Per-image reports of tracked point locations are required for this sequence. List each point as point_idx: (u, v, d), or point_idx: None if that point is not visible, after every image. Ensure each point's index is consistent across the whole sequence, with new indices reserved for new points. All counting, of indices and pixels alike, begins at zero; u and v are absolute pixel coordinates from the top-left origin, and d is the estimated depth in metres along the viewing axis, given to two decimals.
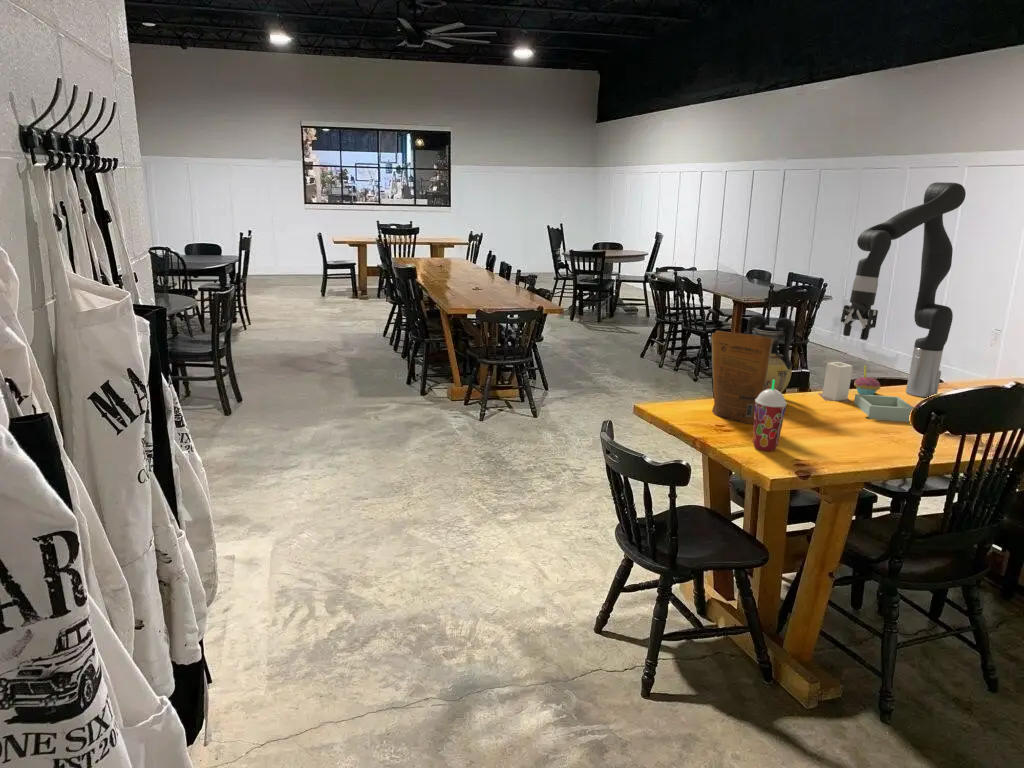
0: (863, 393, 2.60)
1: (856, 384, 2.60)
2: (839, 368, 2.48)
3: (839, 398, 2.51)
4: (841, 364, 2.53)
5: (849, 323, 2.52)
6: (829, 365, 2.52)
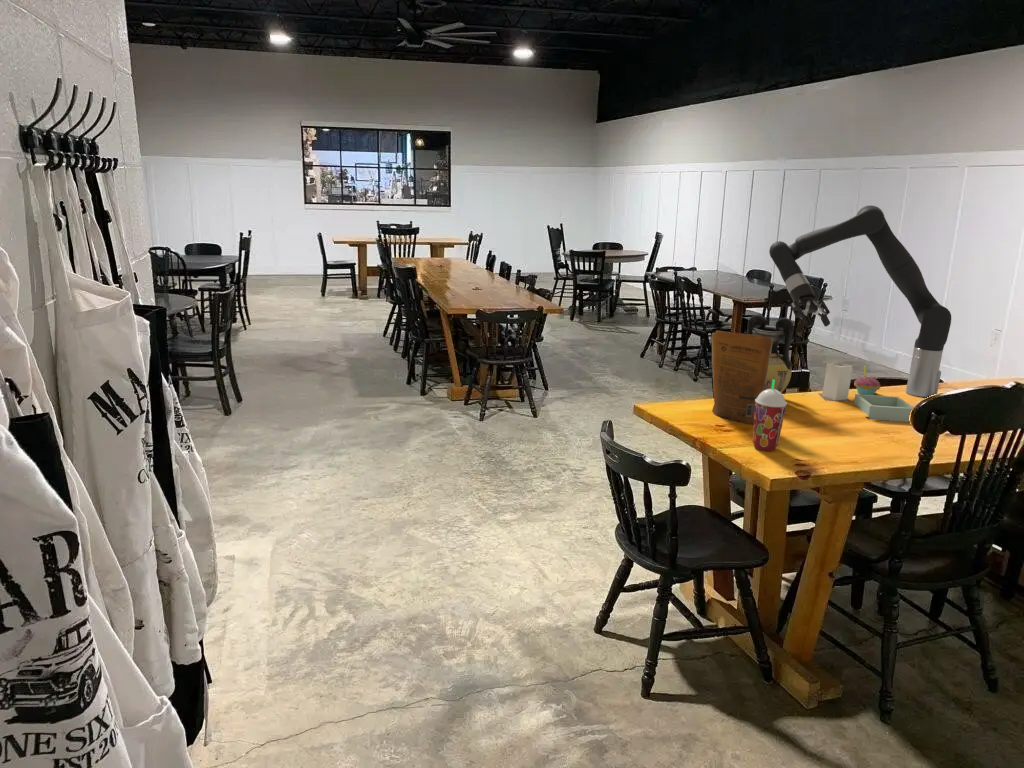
0: (863, 393, 2.60)
1: (856, 384, 2.60)
2: (839, 368, 2.48)
3: (839, 398, 2.51)
4: (841, 364, 2.53)
5: (822, 315, 2.62)
6: (829, 365, 2.52)
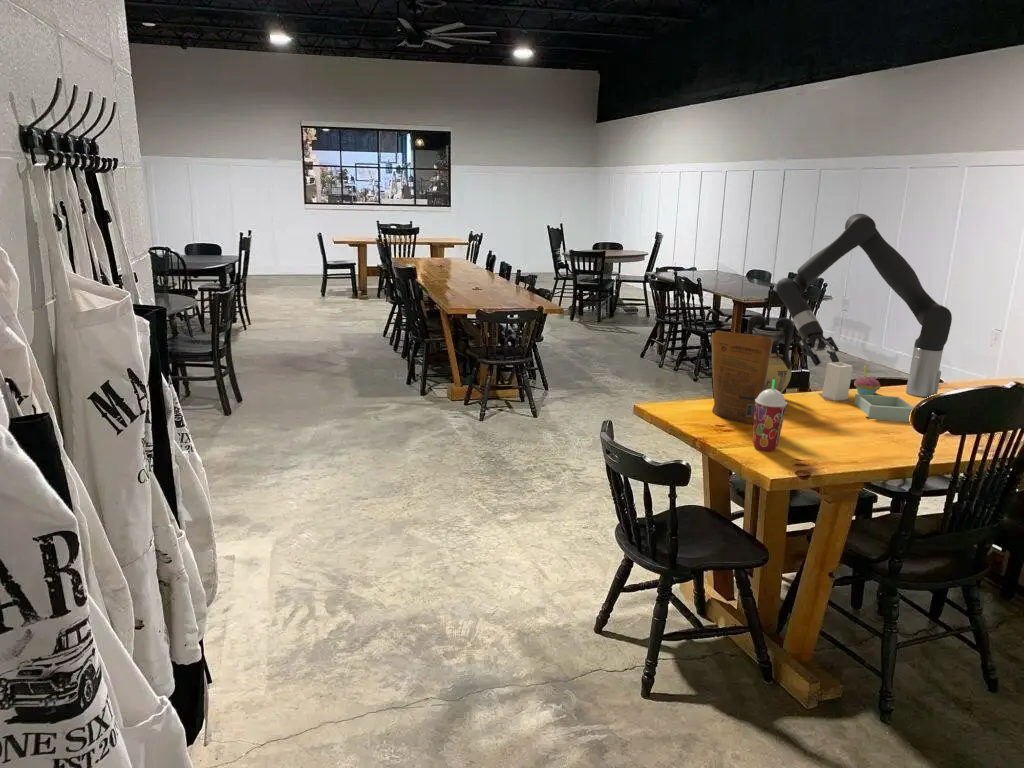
0: (863, 393, 2.60)
1: (856, 384, 2.60)
2: (839, 368, 2.48)
3: (839, 398, 2.51)
4: (841, 364, 2.53)
5: (831, 352, 2.60)
6: (829, 365, 2.52)
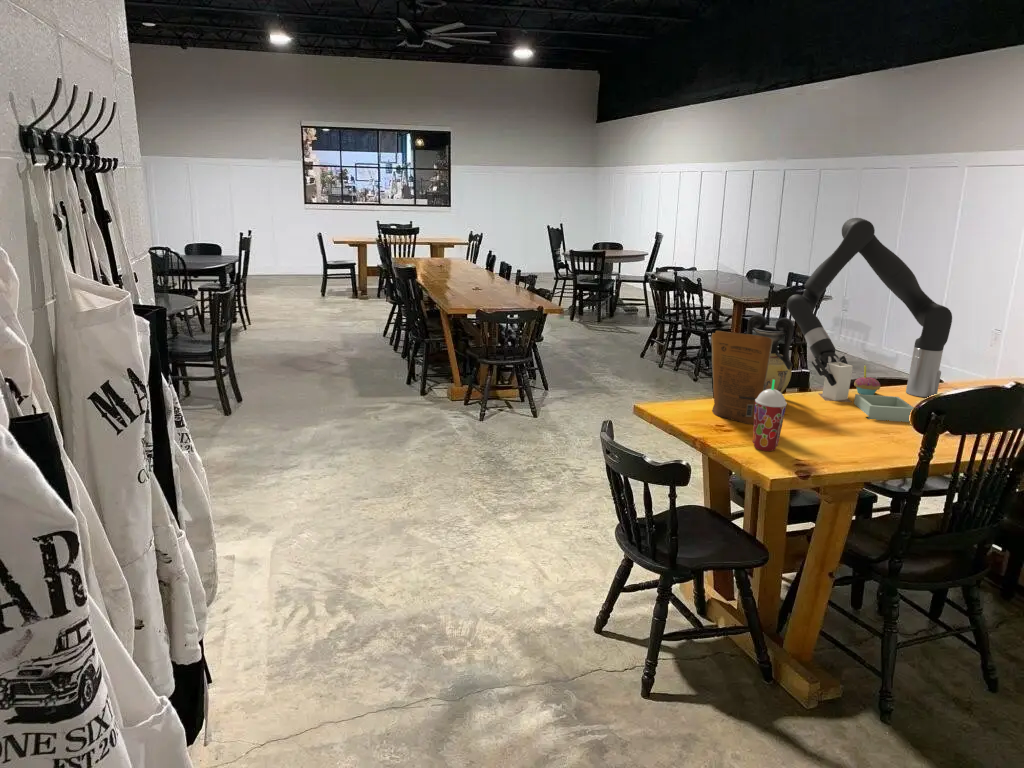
0: (863, 393, 2.60)
1: (856, 384, 2.60)
2: (839, 368, 2.48)
3: (839, 398, 2.51)
4: (841, 364, 2.53)
5: None
6: (829, 365, 2.52)
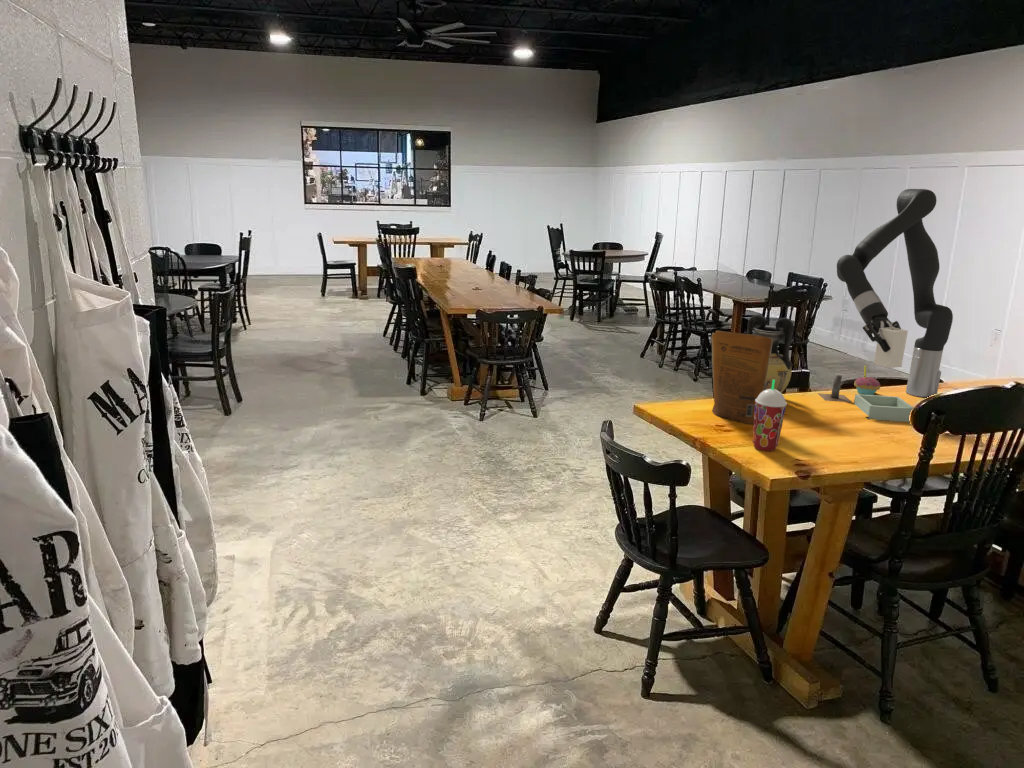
0: (863, 393, 2.60)
1: (856, 384, 2.60)
2: (893, 333, 2.31)
3: (893, 365, 2.35)
4: (894, 329, 2.36)
5: None
6: (882, 330, 2.35)
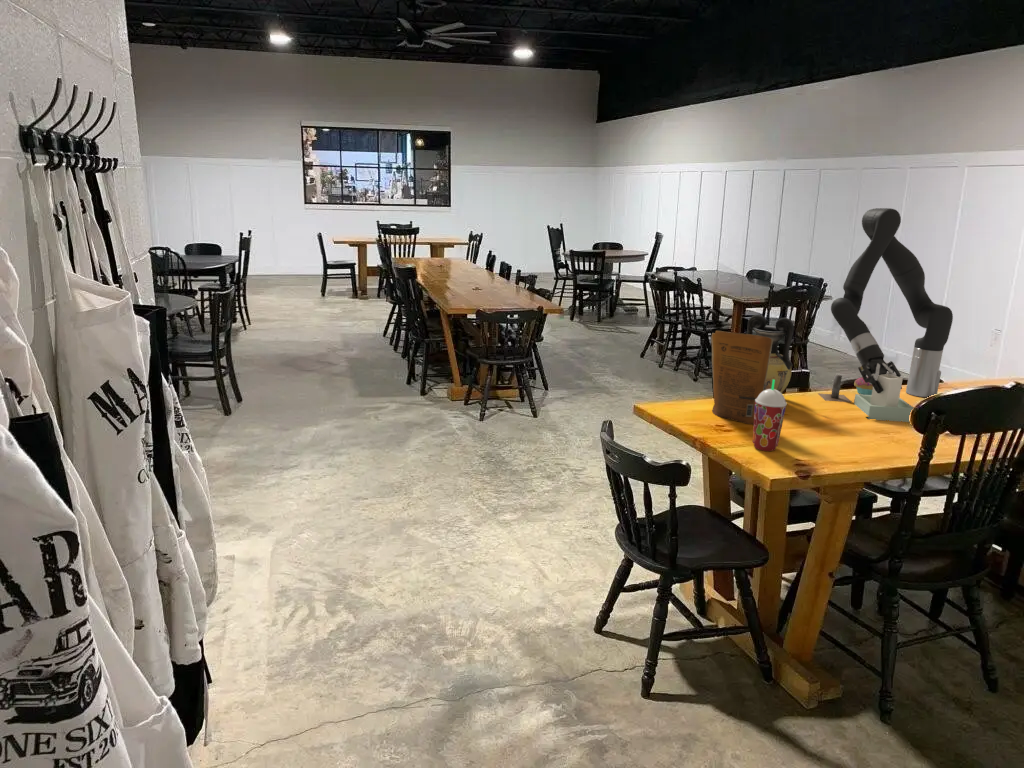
0: (863, 393, 2.60)
1: (856, 384, 2.60)
2: (888, 380, 2.35)
3: None
4: (890, 376, 2.40)
5: None
6: None
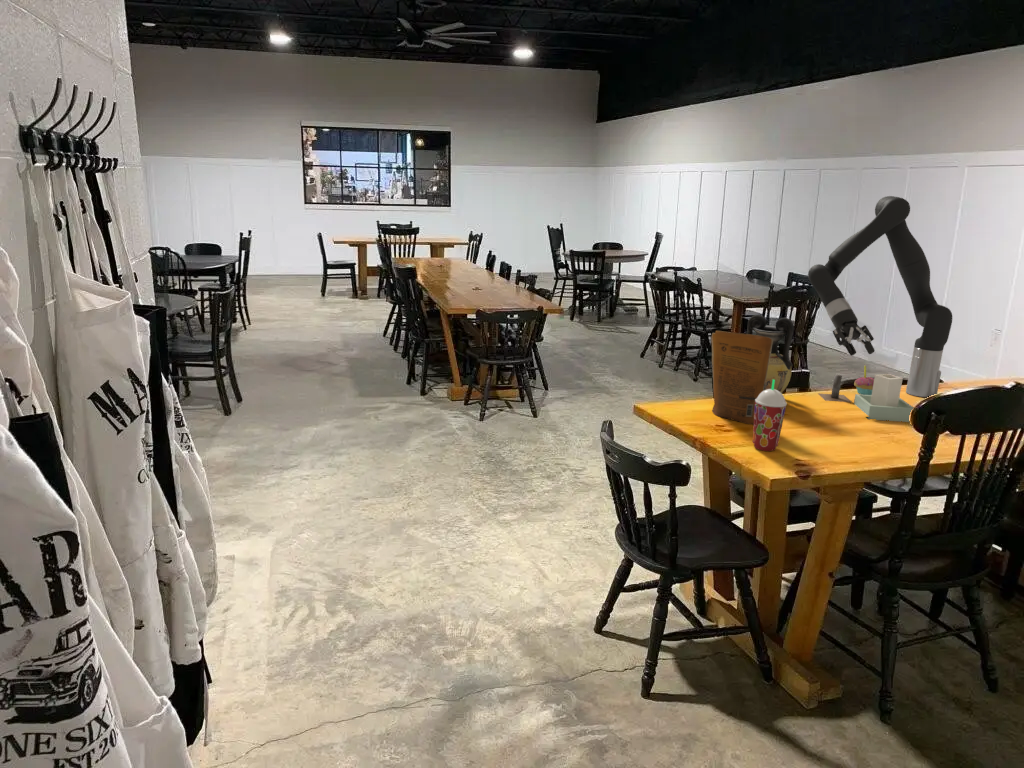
0: (863, 393, 2.60)
1: (856, 384, 2.60)
2: (888, 380, 2.35)
3: None
4: (890, 376, 2.40)
5: (866, 341, 2.50)
6: (877, 377, 2.38)
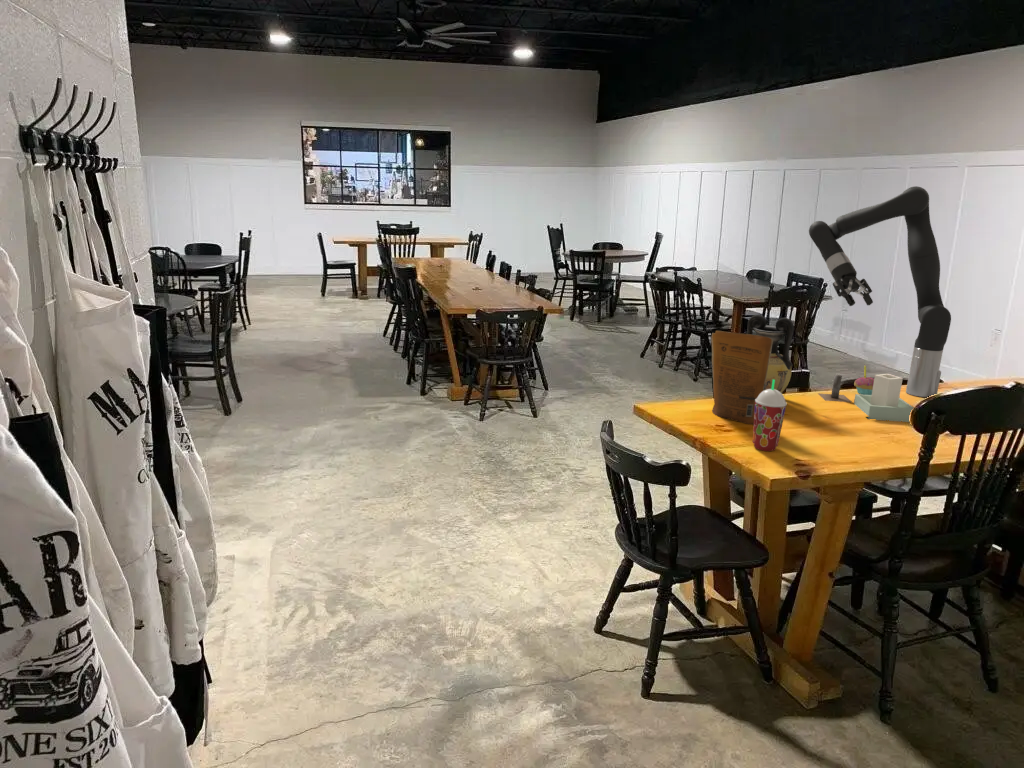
0: (863, 393, 2.60)
1: (856, 384, 2.60)
2: (888, 380, 2.35)
3: None
4: (890, 376, 2.40)
5: (864, 293, 2.60)
6: (877, 377, 2.38)
